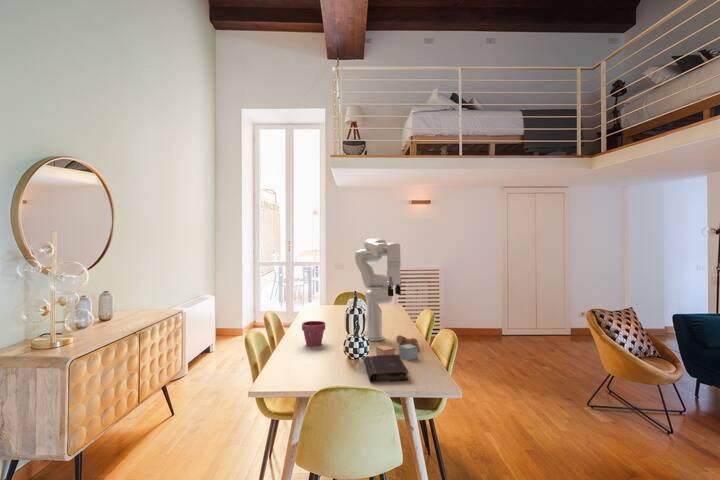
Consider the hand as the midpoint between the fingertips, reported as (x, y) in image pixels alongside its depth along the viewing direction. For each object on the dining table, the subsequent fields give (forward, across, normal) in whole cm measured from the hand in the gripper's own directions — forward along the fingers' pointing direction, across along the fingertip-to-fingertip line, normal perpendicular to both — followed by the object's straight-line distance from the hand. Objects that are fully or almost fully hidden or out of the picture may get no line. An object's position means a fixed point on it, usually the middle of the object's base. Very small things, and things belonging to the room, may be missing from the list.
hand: (394, 295), depth 219 cm
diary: (+34, +32, +10) cm, 47 cm away
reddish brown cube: (+32, +15, +1) cm, 35 cm away
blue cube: (+32, +6, +10) cm, 34 cm away
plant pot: (+31, +10, -50) cm, 59 cm away
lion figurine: (+32, -6, +5) cm, 33 cm away
